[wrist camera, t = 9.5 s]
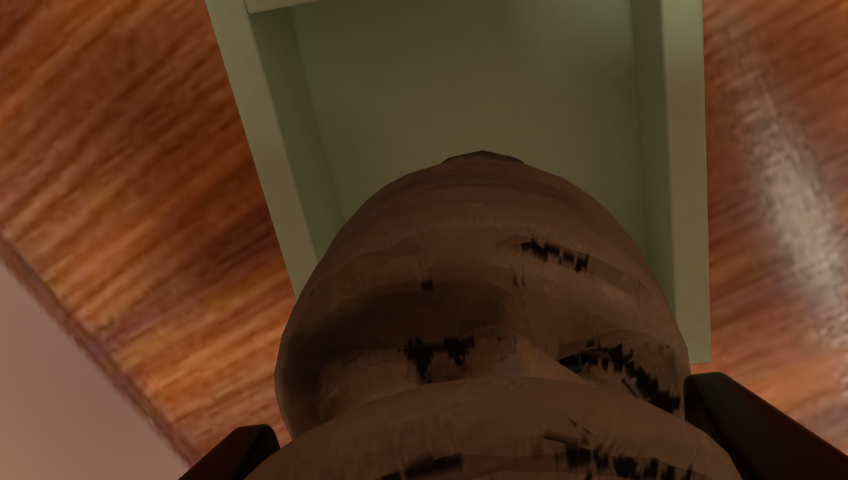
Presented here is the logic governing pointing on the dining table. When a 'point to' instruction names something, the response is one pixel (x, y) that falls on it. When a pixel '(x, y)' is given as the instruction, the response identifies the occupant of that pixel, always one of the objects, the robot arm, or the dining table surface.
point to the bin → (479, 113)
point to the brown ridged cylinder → (485, 341)
